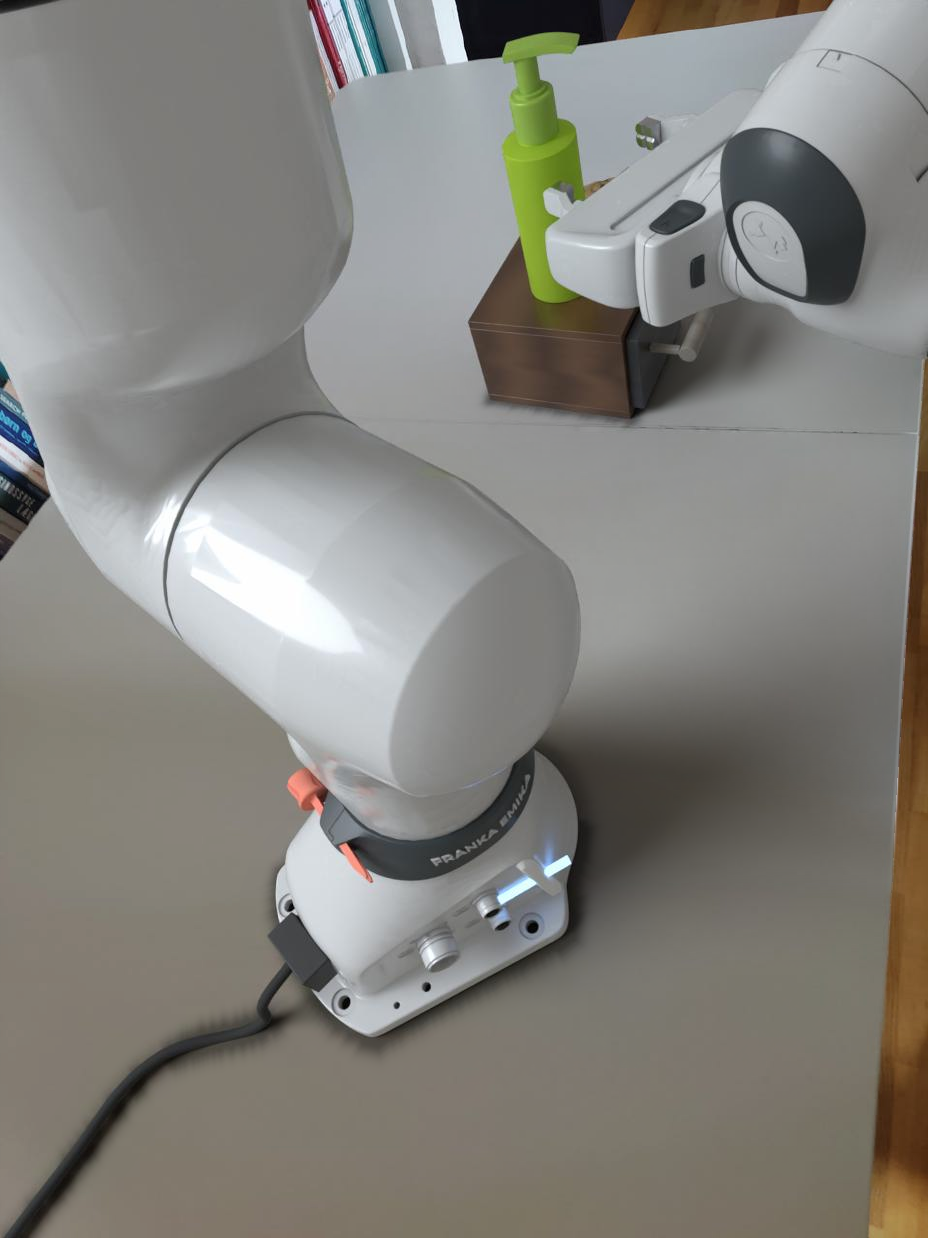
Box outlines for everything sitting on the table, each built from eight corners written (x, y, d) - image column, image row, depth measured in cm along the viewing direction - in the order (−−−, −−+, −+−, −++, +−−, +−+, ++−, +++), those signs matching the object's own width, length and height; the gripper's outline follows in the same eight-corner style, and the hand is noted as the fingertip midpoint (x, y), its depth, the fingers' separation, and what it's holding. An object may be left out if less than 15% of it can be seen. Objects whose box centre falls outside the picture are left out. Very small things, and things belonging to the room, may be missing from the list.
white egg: (834, 139, 95) (841, 69, 89) (763, 151, 97) (766, 84, 91) (823, 92, 100) (830, 24, 94) (756, 105, 102) (759, 38, 96)
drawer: (725, 330, 81) (726, 258, 75) (690, 414, 76) (688, 345, 70) (553, 314, 89) (540, 248, 82) (511, 391, 84) (494, 327, 77)
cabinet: (671, 328, 84) (666, 241, 77) (630, 419, 79) (621, 335, 71) (536, 316, 90) (519, 234, 83) (489, 399, 85) (467, 321, 77)
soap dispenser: (603, 299, 74) (571, 54, 58) (526, 305, 77) (475, 70, 60) (610, 257, 77) (582, 12, 61) (536, 264, 80) (490, 29, 63)
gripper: (857, 85, 55) (693, 46, 63) (633, 258, 51) (487, 193, 59) (845, 178, 60) (695, 131, 68) (640, 342, 56) (505, 272, 64)
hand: (597, 161), depth 63 cm, fingers open, 8 cm apart
